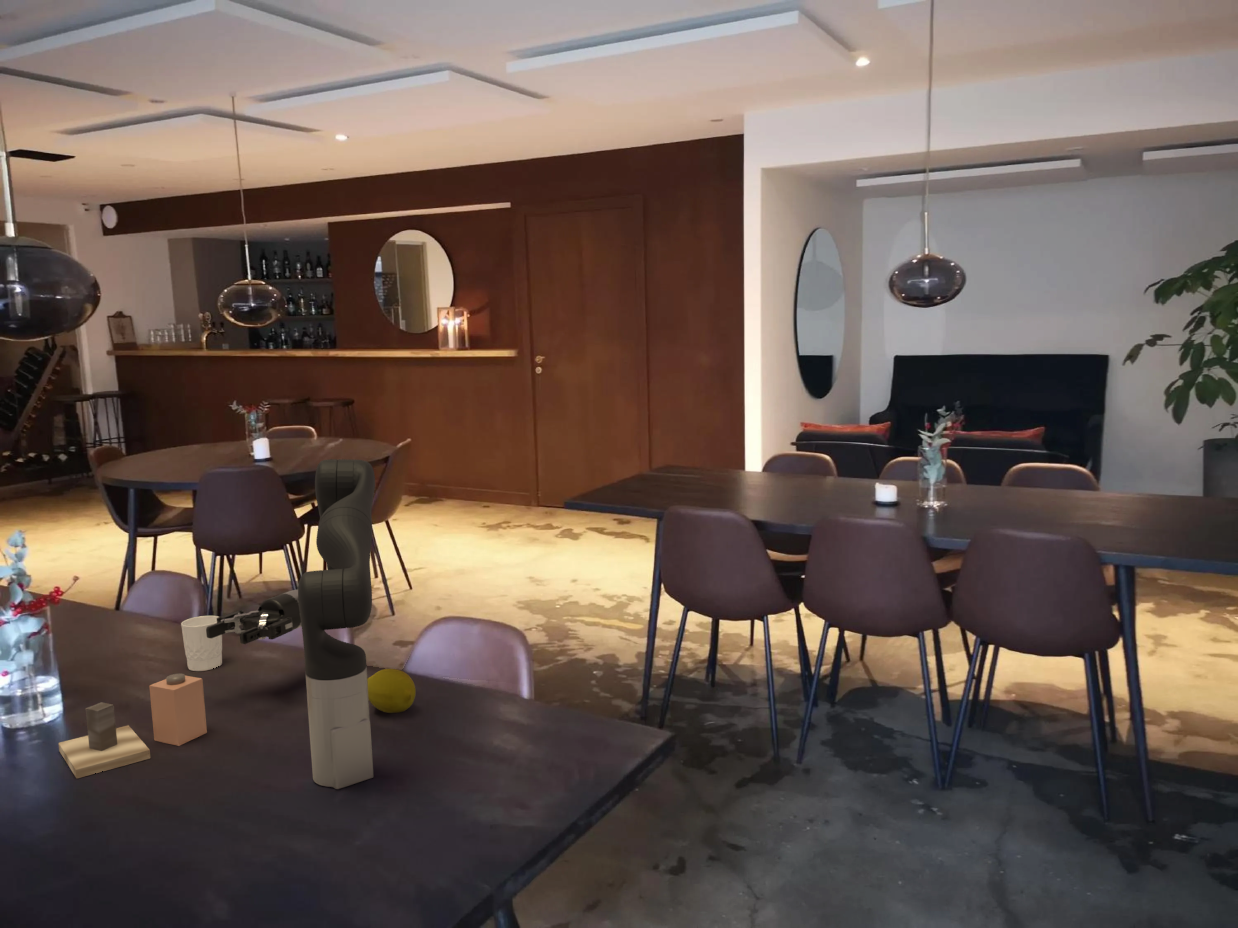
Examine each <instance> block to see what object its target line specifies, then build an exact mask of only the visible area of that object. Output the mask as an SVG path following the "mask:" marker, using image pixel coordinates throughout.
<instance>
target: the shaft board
mask: <svg viewBox="0 0 1238 928" xmlns="http://www.w3.org/2000/svg"><path fill="white" fill-rule="evenodd" d="M115 715H116V714H115V705H114V704H111V703H107V702H98V703H95V704H94V705H90V706H88V707H85V719H86V727H87V730H86V731H87V735H83V736H80V737H76V738H72V739H69V740H63V741H61V742H58V751H59V753H60V755H61V756H62V757H63V759H64V761H65V762H66V764H67V766H68V767H69V769H70V770H71V772H72V774H73V775H74V777H75V778H76V779H81V778H84V777H87V776H92V775H94V774H95V773H96V774H98V773H103V772H106V771H110V770H113V769H117V768H120V767H124V766H128V765H132V764H135V763H138V762H142V761H146V760H149V759H151V751H150V748H149V747H148V746H147V745H146V744H145V742H144V741H143V740H142V739H141V738H140V737H139V736H138V734H137V733H135V731H134V730H133V728H131V726H130V725H129V724H127V725H123V726H120V727H117V726H116V716H115ZM102 771H103V772H102ZM96 774H95V775H96Z"/></svg>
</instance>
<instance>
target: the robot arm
mask: <svg viewBox="0 0 1238 928" xmlns="http://www.w3.org/2000/svg"><path fill="white" fill-rule="evenodd" d="M375 489H376V477H375V471H374V468H373V466H372V464H371V463H370V462H369V461H367V460H363V459H346V458H345V459H343V458H342V459H335V458H334V459H332V458H331V459H323V460H321V461H320V462H319V463H318V464H317V467H316V470H315V477H314V490H315V498H316V505H317V508H318V514H319V520H318V526H317V532H316V541H315V542H316V549H317V552H318V553H319V554H318V555H320V557H321V558H322V560H323V561H324V562H326V563H325V564H326V569H322V570H320V569H319V570H310V571H306V572H304V573H302V574H301V576H300V579H299V581H298V585H297V586H298V587H297V589H293V590H289V591H286V592H284V593H281V594H277V595H275V596H272V597H269V598H267V599H264V600H263V601H262V602H261V603H260V604H259V606H258V609H257V610H251V611H249V612H247V613H246V612H245V611H244V610H243V609H239V610H236V611H233V612H231V613H227V614H224V615H222V616H218V618H217V624H214V625H211V626H208V627H207V628H206V634H207V638H214V637H217V636H219V635H222V636H223V635H225V634H227V633H234V632H235V634H237V635H238V634H239V641H240V644H242V645H246V644H250V643H251V642H254V641H256V640H265V639H266V638H268V640H271V641H272V640H275V639H277V638H279V637H281V636H284V635H285V634H288V633H291V632H292V631H294V630H297V629H299V628H301V633H302V641H303V643H302V644H303V653H304V671H305V672H304V673H305V684H306V685H305V686H306V687H305V688H306V699H307V701H306V702H307V714H308V727H309V728H308V729H309V731H308V732H309V743H310V756H311V758H310V759H311V768H312V769H311V770H312V772H311V773H312V779H313V782H314V783H316V784H317V785H319V786H321V787H322V786H323V787H329V788H330V787H331V788H334V789H335V790H340V789H343V788H346V787H349V786H352V785H354V784H358V783H361V782H363V781H364V782H365V781H366V780H369V779H372V778H374V764H373V761H374V760H373V750H372V749H373V747H372V732H371V731H372V730H371V717H370V703H369V702H370V701H369V699H368V681H367V678H368V667H367V655H366V652H365V650H364V649H363V647H361V646H359V645H357V644H353V643H351V642H346V641H343V640H340V639H337V638H335V637H333V636H331V635H330V634H329V633H327V632H326V631H328V630H341V629H346V628H347V629H351V628H357V627H360V626H363V625H364V624H366V623H367V622H368V621H369V618H370V615H371V613H372V608H373V607H372V605H373V591H372V589H373V588H372V578H371V551H372V541H373V522H372V521H373V520H372V507H373V501H374V495H375ZM240 626H242V628H240Z"/></svg>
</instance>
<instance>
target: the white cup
mask: <svg viewBox="0 0 1238 928" xmlns="http://www.w3.org/2000/svg"><path fill="white" fill-rule="evenodd" d="M218 617H219V616H218V615H201V616H195V617H190V618H188V619H185V620H183V621H182V622H180V627H181V632H182V639H183V640H182V641H183V646H184V647H183V648H184V654H185V657H186V663H187V664H186V665H187V668H188V670H189V671H192V672H204V671H209V670H213V668H214V669H216V667H217V668H218V666H219V667H220V666H221V665H222V664H223V654H222V652H223V634H222V635H219V636H217V637H214V638H207V634H206V628H207V627H208V626H211V625H214V624H217V618H218Z"/></svg>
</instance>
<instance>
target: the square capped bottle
mask: <svg viewBox="0 0 1238 928" xmlns="http://www.w3.org/2000/svg"><path fill="white" fill-rule="evenodd" d="M203 682H204V681H203V678H201V677H195V676H189V675H185V673H174V674H169V675H168V676H166V677H165V679H163V680H160V681H157V682H155V683H152V684H150V685H148V687H149V688H148V689H149V698H150V707H151V708H150V709H151V717H152V718H151V719H152V727H153V729H152V730H153V739H154V740H153V741H155V742H160V743H163V744H169V745H173V746H178V747H180V746H182V745H184V744H186V743H188V742H190V741H192V740H194V739H197V738H198V737H202V736H203V735H205V734H207V733H208V731H207V729H208V727H207V719H206V706H205V694H204V683H203Z"/></svg>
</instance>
